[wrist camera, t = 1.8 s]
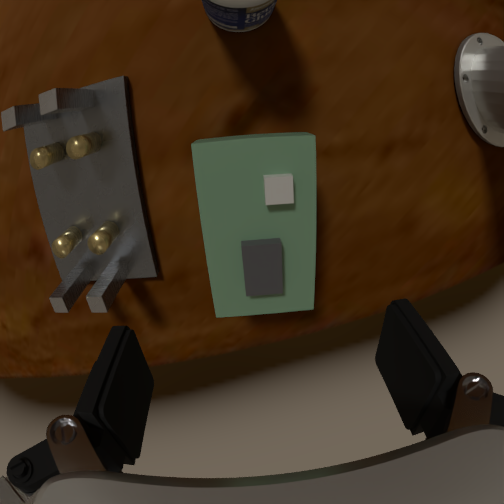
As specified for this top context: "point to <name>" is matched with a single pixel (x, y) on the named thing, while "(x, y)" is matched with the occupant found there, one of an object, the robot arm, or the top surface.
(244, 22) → the pill bottle
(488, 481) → the robot arm
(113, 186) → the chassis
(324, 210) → the top surface
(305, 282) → the board
